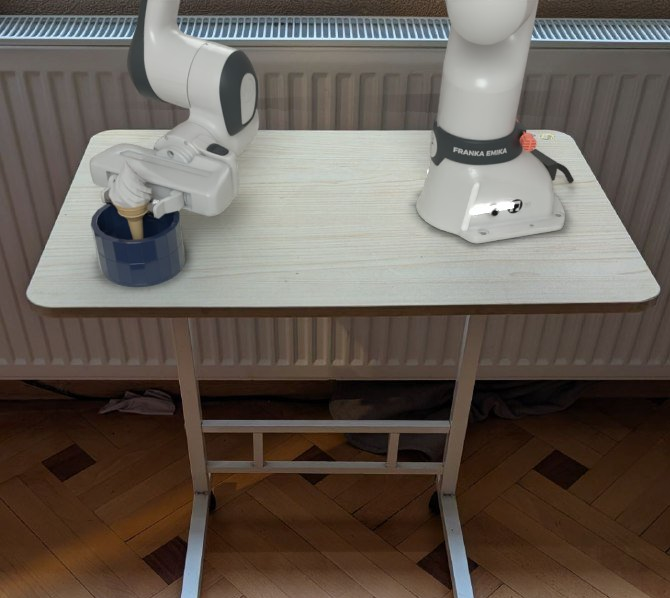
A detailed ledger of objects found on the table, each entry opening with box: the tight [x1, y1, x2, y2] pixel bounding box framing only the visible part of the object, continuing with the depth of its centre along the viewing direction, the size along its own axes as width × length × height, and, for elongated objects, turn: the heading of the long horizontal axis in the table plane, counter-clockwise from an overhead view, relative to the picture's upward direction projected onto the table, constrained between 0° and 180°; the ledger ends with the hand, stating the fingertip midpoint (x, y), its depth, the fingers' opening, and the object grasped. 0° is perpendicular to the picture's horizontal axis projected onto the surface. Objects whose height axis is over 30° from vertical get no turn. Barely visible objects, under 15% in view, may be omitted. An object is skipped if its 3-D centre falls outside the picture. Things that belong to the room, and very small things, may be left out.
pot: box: [90, 200, 186, 288], centre depth 113 cm, size 12×12×7 cm
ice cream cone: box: [109, 160, 152, 240], centre depth 110 cm, size 6×6×15 cm
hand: (128, 205), depth 109 cm, fingers open, 6 cm apart
